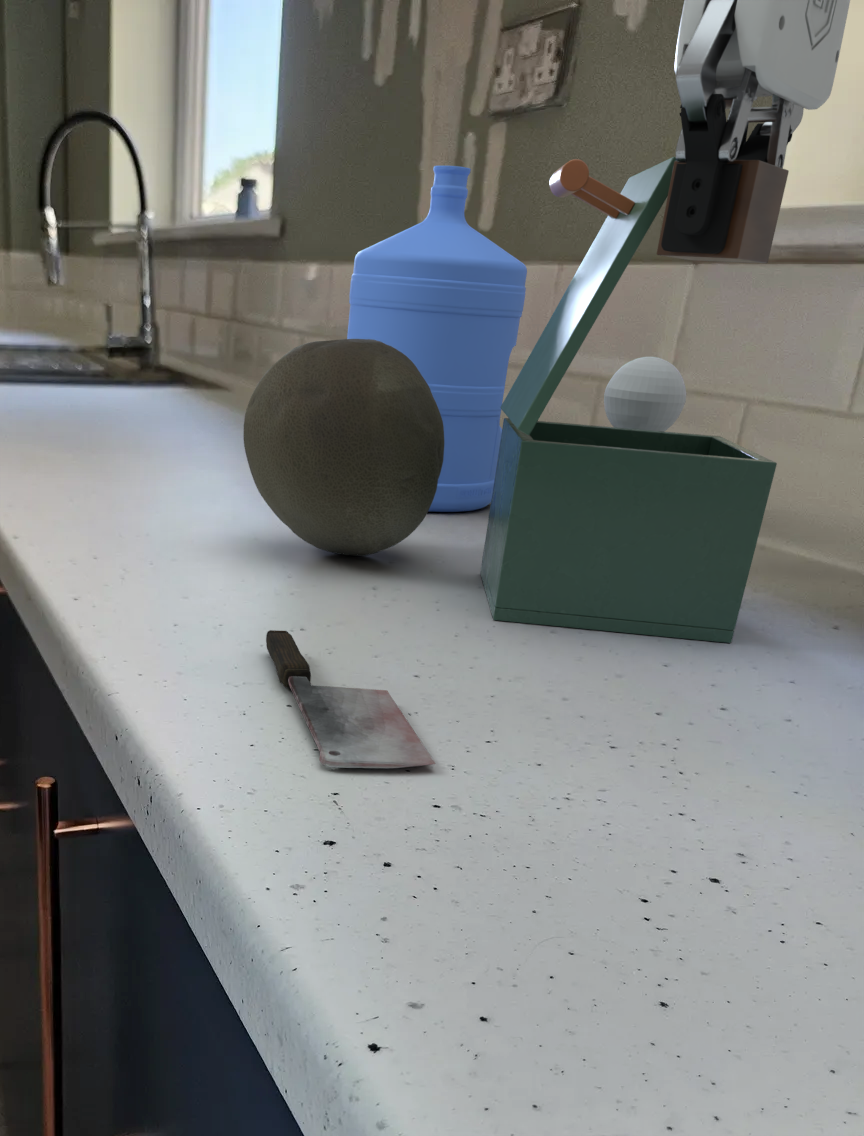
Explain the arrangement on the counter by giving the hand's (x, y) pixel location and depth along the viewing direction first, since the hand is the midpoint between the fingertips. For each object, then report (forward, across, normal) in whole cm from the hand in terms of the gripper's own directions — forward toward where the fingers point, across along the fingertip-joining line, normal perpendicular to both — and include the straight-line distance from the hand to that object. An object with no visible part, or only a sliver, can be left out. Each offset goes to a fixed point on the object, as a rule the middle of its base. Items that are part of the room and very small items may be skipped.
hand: (711, 251), depth 60 cm
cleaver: (+21, -24, +4) cm, 33 cm away
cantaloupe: (+21, +1, +24) cm, 32 cm away
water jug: (+21, +28, +36) cm, 50 cm away
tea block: (0, 0, 0) cm, 0 cm away
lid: (+3, +3, +8) cm, 9 cm away
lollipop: (+22, +21, +11) cm, 32 cm away
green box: (+21, +5, +5) cm, 23 cm away
